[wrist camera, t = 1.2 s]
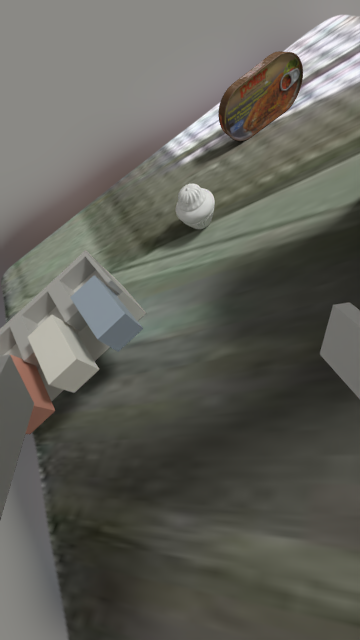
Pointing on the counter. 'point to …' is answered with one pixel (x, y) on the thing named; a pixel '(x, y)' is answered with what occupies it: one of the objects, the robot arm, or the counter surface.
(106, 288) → the blue-grey rectangular block
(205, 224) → the muffin
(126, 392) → the counter surface
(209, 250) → the counter surface
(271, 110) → the tin
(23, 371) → the terracotta key
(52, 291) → the grey slotted rack
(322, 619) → the counter surface
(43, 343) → the ivory key
